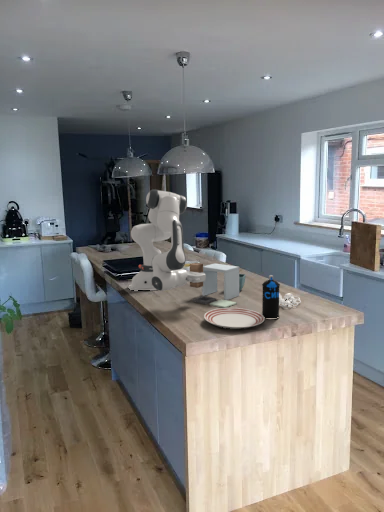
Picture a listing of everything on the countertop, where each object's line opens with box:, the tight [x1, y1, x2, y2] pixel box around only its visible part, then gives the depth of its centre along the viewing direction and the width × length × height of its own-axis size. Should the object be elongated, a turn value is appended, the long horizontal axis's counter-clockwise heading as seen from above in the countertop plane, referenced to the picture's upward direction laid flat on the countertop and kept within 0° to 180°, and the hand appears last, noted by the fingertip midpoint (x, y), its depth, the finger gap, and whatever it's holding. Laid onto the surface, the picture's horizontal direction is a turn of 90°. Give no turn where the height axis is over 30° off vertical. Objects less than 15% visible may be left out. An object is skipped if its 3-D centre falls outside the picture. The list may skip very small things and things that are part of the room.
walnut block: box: [189, 262, 204, 289], centre depth 226 cm, size 5×5×12 cm
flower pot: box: [239, 273, 247, 292], centre depth 254 cm, size 9×9×9 cm
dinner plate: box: [203, 307, 266, 330], centre depth 197 cm, size 27×27×3 cm
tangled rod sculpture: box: [279, 292, 302, 309], centre depth 225 cm, size 19×14×4 cm
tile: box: [209, 298, 238, 308], centre depth 226 cm, size 10×10×1 cm
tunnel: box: [201, 262, 240, 301], centre depth 242 cm, size 12×17×16 cm
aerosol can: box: [261, 274, 281, 318], centre depth 202 cm, size 8×8×20 cm
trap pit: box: [192, 295, 217, 305], centre depth 233 cm, size 9×9×1 cm
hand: (197, 272), depth 227 cm, fingers closed on walnut block, 5 cm apart
